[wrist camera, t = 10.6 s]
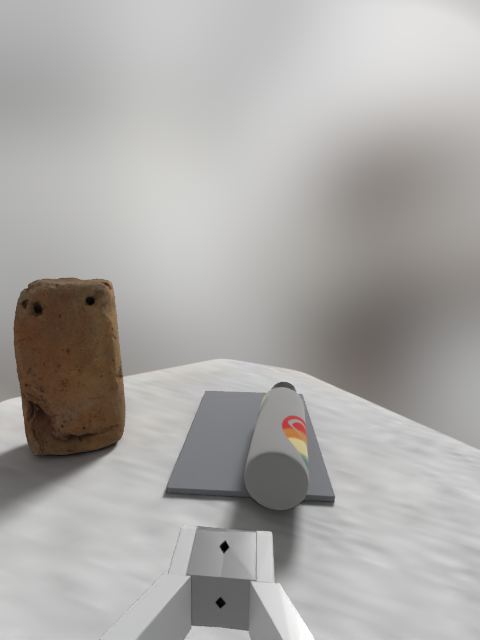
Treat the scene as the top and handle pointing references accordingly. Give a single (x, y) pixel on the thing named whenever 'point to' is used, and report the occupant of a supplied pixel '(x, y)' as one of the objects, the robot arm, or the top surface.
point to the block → (69, 365)
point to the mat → (234, 449)
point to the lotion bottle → (279, 451)
